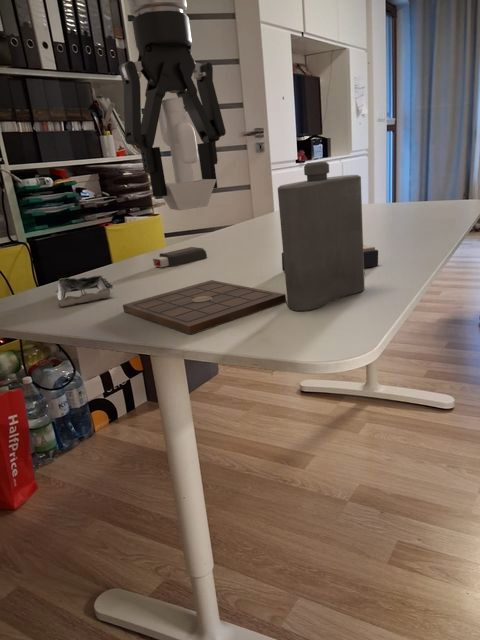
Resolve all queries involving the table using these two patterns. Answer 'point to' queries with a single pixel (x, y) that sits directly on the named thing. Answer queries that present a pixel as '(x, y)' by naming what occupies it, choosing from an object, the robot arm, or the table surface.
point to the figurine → (182, 158)
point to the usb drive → (180, 257)
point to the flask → (321, 237)
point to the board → (203, 305)
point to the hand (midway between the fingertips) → (186, 191)
